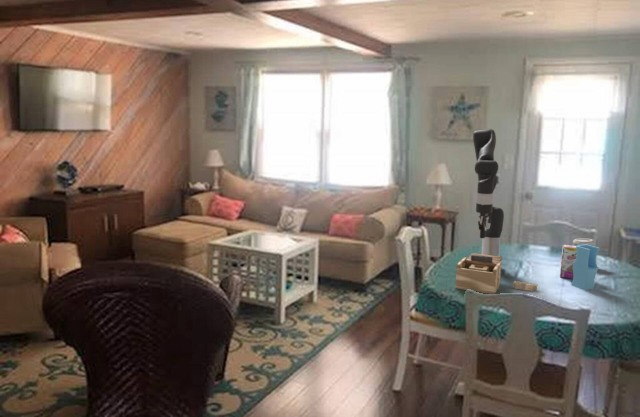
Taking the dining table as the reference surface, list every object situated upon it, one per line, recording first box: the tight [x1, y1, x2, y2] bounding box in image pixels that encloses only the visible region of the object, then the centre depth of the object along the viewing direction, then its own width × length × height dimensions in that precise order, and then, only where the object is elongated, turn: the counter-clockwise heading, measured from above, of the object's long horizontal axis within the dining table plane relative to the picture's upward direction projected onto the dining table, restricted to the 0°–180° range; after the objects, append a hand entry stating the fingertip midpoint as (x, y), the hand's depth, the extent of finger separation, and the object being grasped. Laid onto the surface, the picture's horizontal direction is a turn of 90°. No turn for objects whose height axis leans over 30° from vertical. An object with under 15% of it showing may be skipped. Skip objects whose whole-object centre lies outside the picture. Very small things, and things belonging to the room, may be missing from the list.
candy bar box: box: [559, 244, 577, 280], centre depth 280 cm, size 11×5×16 cm, turn 71°
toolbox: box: [455, 256, 503, 295], centre depth 264 cm, size 15×18×12 cm
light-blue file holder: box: [570, 244, 601, 291], centre depth 265 cm, size 8×8×20 cm
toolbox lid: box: [466, 252, 503, 266], centre depth 273 cm, size 15×15×4 cm
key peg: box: [512, 280, 538, 293], centre depth 263 cm, size 3×3×10 cm
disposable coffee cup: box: [572, 238, 595, 246], centre depth 302 cm, size 11×11×15 cm
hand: (482, 237), depth 263 cm, fingers closed
